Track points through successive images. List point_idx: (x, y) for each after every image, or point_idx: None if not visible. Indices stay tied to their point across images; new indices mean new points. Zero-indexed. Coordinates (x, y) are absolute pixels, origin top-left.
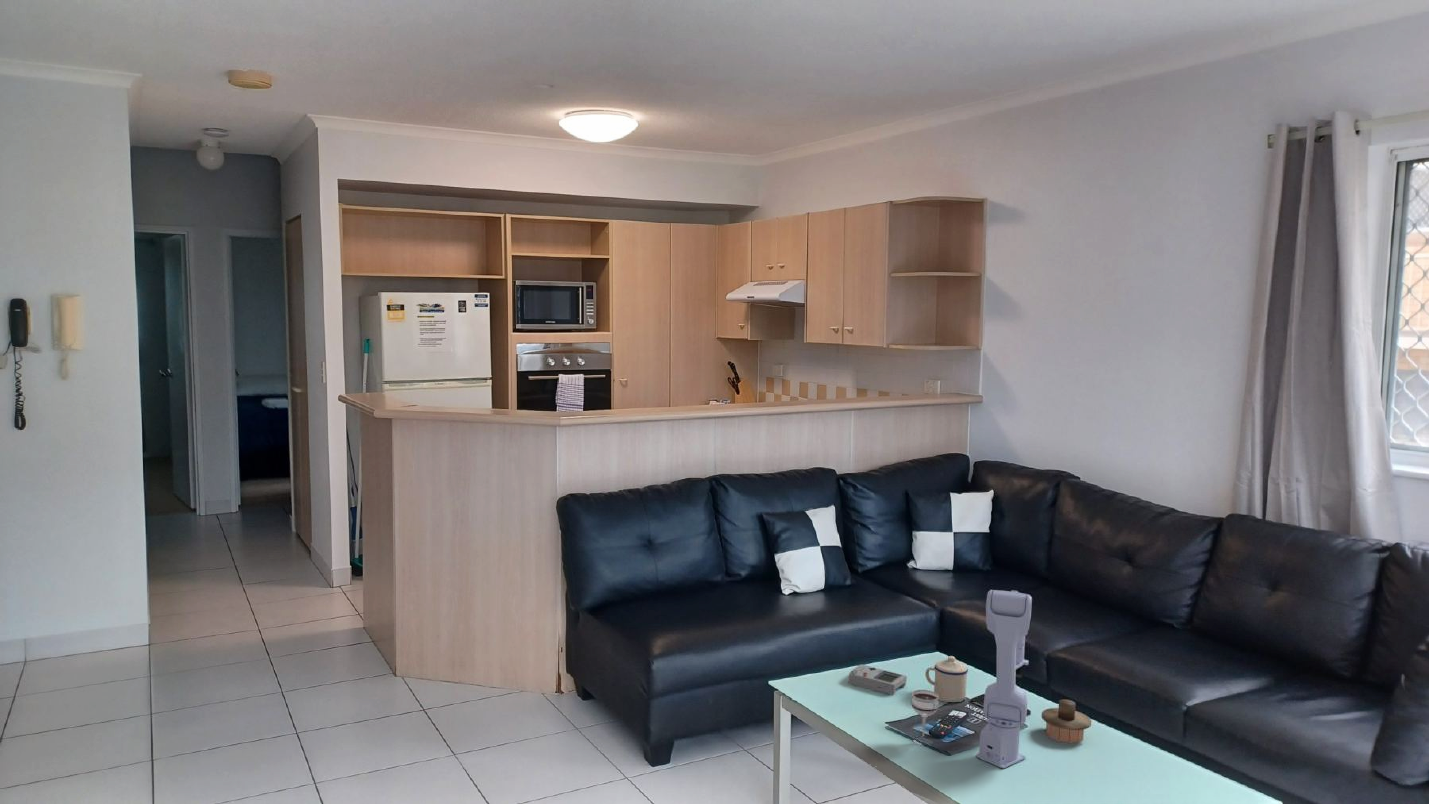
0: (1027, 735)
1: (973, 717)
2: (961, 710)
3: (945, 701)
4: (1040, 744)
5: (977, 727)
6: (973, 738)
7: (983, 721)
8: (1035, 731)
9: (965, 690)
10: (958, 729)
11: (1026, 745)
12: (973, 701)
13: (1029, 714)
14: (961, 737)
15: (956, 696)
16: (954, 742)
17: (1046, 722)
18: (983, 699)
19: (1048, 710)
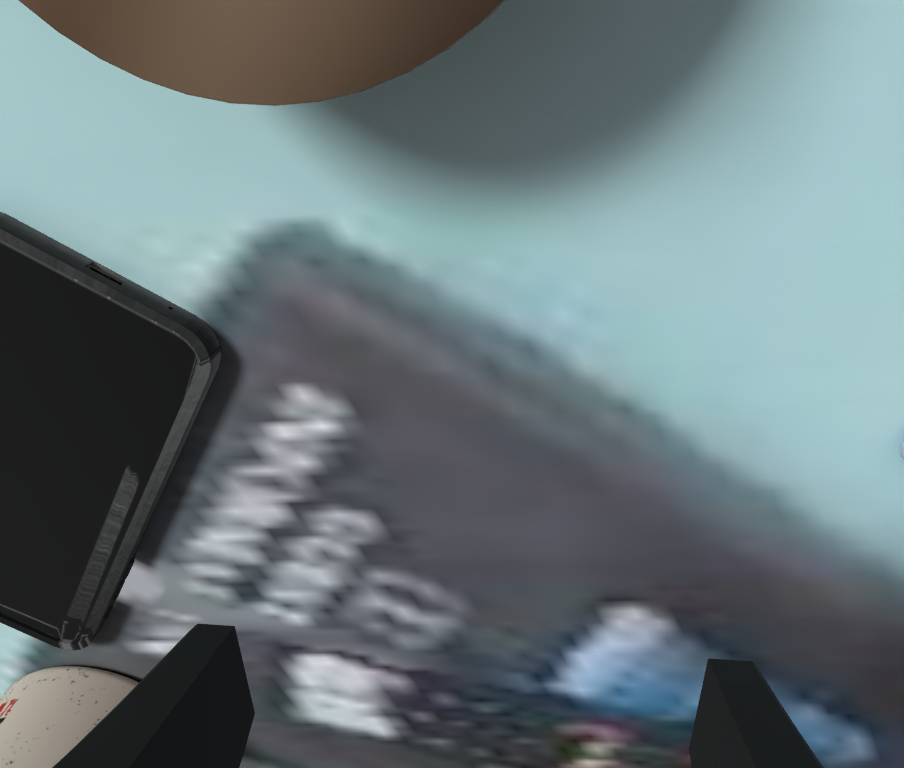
0: (528, 210)
1: (356, 614)
2: (277, 677)
3: None
4: (723, 58)
5: (532, 589)
6: (759, 608)
7: (394, 556)
8: (387, 135)
9: (50, 732)
10: (624, 688)
11: (793, 207)
12: (95, 631)
13: (10, 219)
14: (765, 672)
15: None
16: (871, 706)
17: None
18: (6, 576)
19: (98, 6)
